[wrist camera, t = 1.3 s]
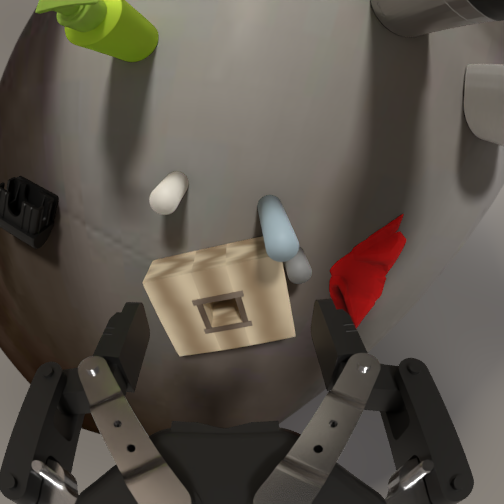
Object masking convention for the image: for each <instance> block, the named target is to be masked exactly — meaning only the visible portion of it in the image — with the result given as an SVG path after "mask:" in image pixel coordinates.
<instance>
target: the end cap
mask: <svg viewBox="0 0 504 504" xmlns="http://www.w3.org/2000/svg"><path fill="white" fill-rule="evenodd" d="M4 185H5V183H1V184H0V227H1V228H3V229H4V230H6V231H7V232H9V233H10V234H12V235H14V236H15V237H17V238H18V239H20V240H22V241H23V242H25V243H26V244H28V245H30V246H31V247H33V248H35V249H38V248H40V247H41V246H42V245H43V244H44V243H45V242H46V240H47V238H48V237H49V235H50V233H51V230H52V227H53V224H54V217H55V213H56V208H57V204H58V199H59V198H58V196H57V195H55V194H53V193H52V192H50V191H48V190H46V189H44V188H42V187H40V186H39V185H37V184H35V183H33V182H31V181H29V180H28V179H26V178H24V177H22V176H19V177H17V178H15V177H14V178H11V179H9V180H8V184H7V190H5V189H4Z"/></svg>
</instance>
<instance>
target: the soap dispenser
mask: <svg viewBox="0 0 504 504" xmlns="http://www.w3.org/2000/svg"><path fill="white" fill-rule="evenodd" d="M52 10H53V11H55V12H57V21H58V22H59V24H61V25H63V26H65V34H66V37H67V39H68V40H69V41H70V42H71V43H73V44H75V45H78V46H81V47H84V48H88V49H91V50H94V51H97V52H100V53H103V54H107V55H109V56H112V57H115V58H118V59H121V60H124V61H127V62H137V61H140V60H143V59H145V58H146V57H148V56H149V55H150V54H151V53H152V52H153V51H154V49H155V48H156V46H157V43H158V32H157V30H156V28H155V27H154V26H153V25H152V24H151V23H150V22H149V21H148V20H147V19H146V18H144V17H143V16H142V15H141V14H140V13H139V12H138V11H137V10H135V9H134V8H133V7H132V6H131V5H130V4H128V3H127V2H126V1H125V0H39V3H38V6H37V8H36V11H35V12H36V13H39V14H40V13H44V12H48V11H52Z"/></svg>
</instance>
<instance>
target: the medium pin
mask: <svg viewBox="0 0 504 504" xmlns="http://www.w3.org/2000/svg"><path fill="white" fill-rule="evenodd" d="M188 186H189V181H188V178H187V176H186V175H185V174H184V173H182V172H179V171H174V172H171V173H170V174H168V175H167V176H166V177H165V178H164V180H163V181H162V182H161V183H160V184H159V185H158V186H157V187H156V188H155V189H154V190H153V191H152V193H151V195H150V199H149V201H150V205H151V207H152V209H153V210H154V211H155V212H157V213H158V214H161V215H168V214H171V213H172V212H174V211H175V210H176V208H177V206H178V205H179V203H180V201H181V199H182V197H183V196H184V194H185V192H186V190H187V189H188Z"/></svg>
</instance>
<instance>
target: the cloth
mask: <svg viewBox="0 0 504 504" xmlns="http://www.w3.org/2000/svg"><path fill="white" fill-rule="evenodd" d="M403 215H404V214H402V215H400V216H399V217H397V218H396V219H395V220H393V221H391V222H390V223H389V224H387V225H386V226H384V227H383V228H381V229H380V230H378V231H377V232H375V233H374V234H372V235H371V236H370V237H368V238H367V239H366V240H364V241H363V242H361V243H359V244H358V245H357V246H355V247H354V248H353V249H352V251H351V252H350V253H349V254H347V255H346V256H344V257H343V258H341V259H340V260H338V261H337V262H336V263H335V264H334V265H333V266H332V268H331V269H330V273H331V275H332V277H331V279H330V284H329V292H330V296H331V298H332V300H333V302H334V305H335V307H336V309H343V310H344V311H345V312H347V313H348V314H349V315H350V317H351V319H352V321H353V323H354V325H355V327H356V328H357V327H358V325H359V324H360V322H361V321H362V320H363V318H364V317H365V316H366V314H367V313H368V312H369V311H370V309H371V308H372V307H373V306H374V304H375V301H376V300H377V299H378V298H379V297H380V296H381V294H382V290H383V287H384V283H385V280H386V277H385V275H386V274H387V273H388V271H389V270H390V269H391V267H392V266H393V264H394V263H395V261H396V260H397V258H398V257H399V255H400V253H401V251H402V249H403V247H404V245H405V243H406V238H405V237H404V236H403V234H402V233H401V232H396V231H397V230H398V229H399V226H400V223H401V220H402V218H403ZM395 232H396V233H395Z"/></svg>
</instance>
